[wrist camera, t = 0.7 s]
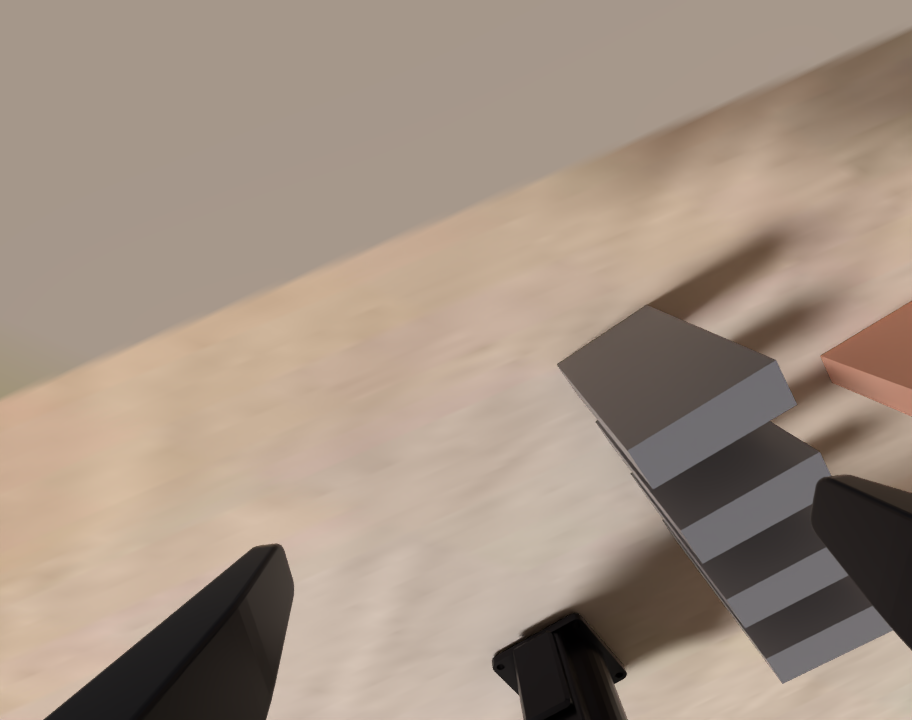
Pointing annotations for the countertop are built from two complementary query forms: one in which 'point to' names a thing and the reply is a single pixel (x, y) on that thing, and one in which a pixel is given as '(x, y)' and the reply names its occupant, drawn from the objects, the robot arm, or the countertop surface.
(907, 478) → the countertop surface
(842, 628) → the domino
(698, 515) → the domino
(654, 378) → the domino
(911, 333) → the domino
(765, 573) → the domino
